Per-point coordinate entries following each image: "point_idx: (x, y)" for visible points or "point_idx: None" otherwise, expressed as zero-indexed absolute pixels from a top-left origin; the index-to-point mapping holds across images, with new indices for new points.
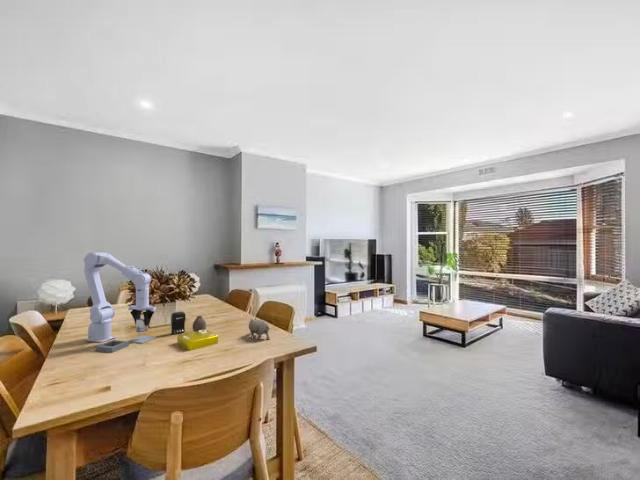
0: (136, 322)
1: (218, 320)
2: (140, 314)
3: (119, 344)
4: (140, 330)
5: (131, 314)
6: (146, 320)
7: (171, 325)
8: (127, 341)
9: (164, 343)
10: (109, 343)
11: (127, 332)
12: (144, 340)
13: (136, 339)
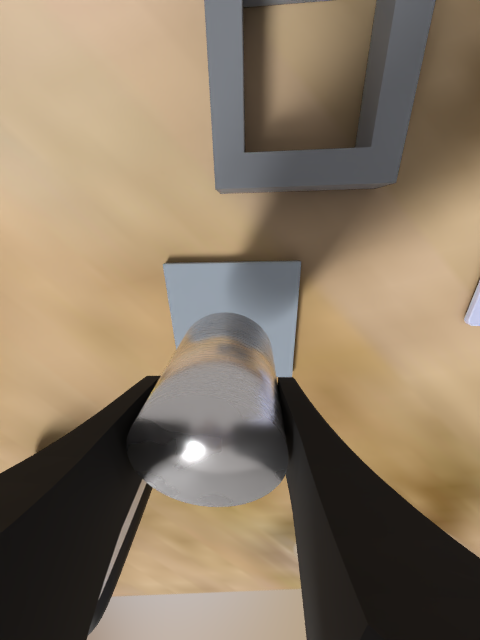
0: (248, 375)
1: (138, 576)
2: (301, 566)
3: (226, 70)
4: (199, 325)
5: (437, 529)
6: (93, 423)
7: (139, 483)
8: (229, 185)
9: (41, 301)
10: (376, 97)
11: (444, 417)
12: (191, 304)
13: (264, 309)
